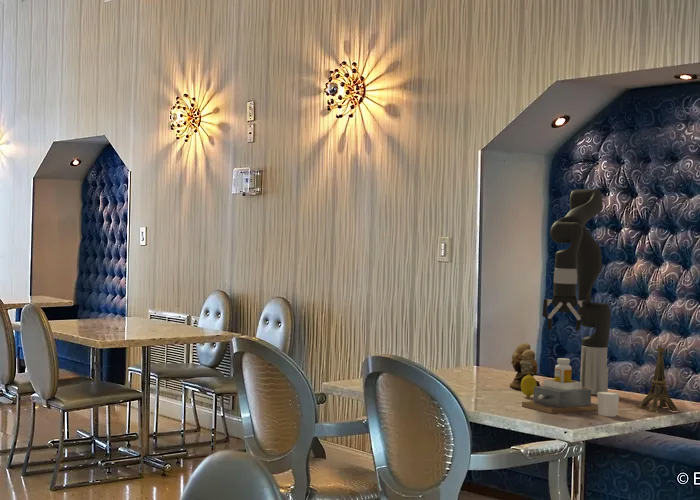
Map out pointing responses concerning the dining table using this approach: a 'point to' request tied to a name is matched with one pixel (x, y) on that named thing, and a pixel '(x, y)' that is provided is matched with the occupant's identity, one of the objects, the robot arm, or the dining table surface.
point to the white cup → (607, 403)
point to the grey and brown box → (561, 397)
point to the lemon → (528, 385)
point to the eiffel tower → (658, 388)
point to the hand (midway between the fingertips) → (563, 330)
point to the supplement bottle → (563, 370)
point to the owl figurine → (523, 365)
